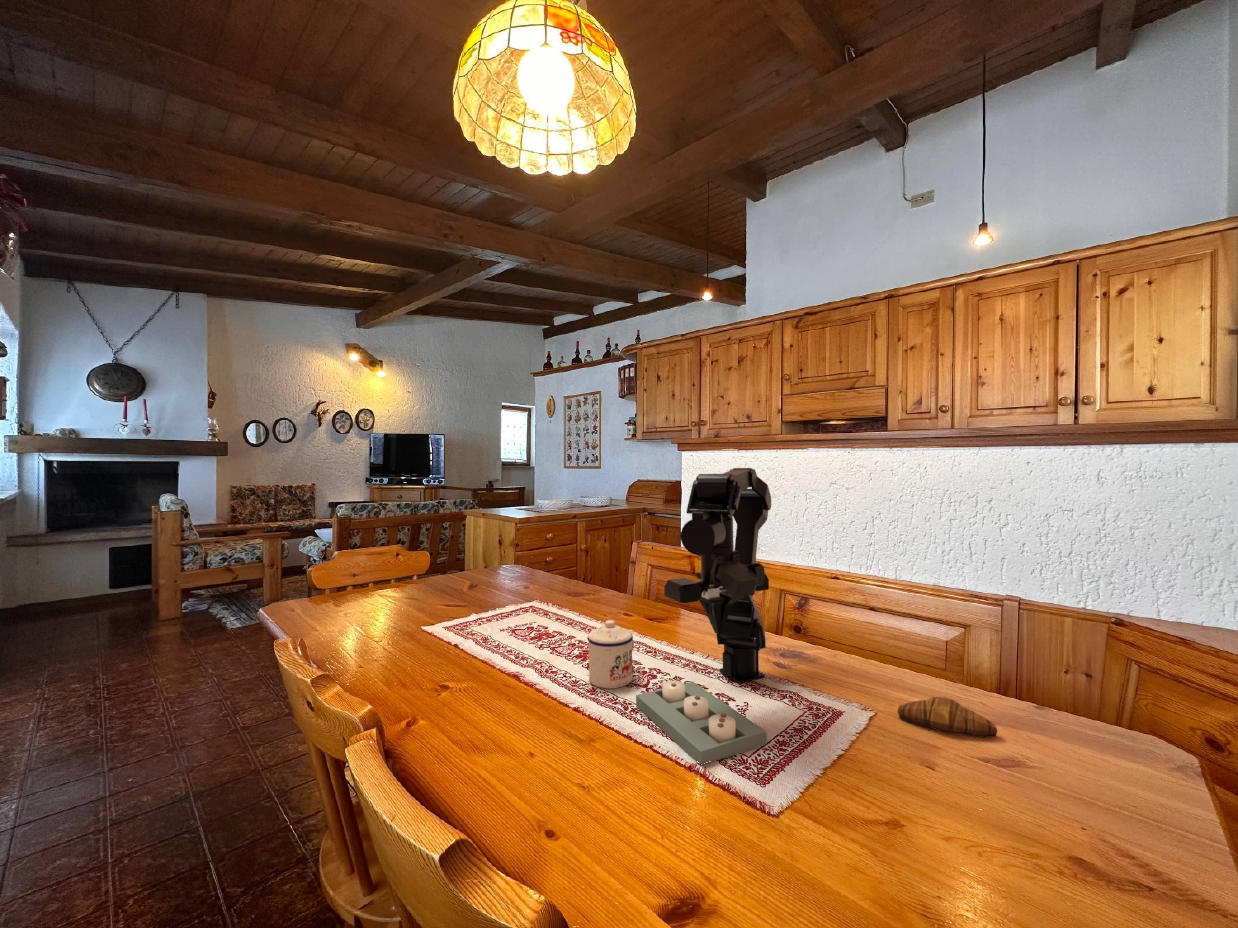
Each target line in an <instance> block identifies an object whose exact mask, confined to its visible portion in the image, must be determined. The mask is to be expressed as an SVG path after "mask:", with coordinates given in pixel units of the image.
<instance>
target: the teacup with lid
mask: <svg viewBox="0 0 1238 928" xmlns="http://www.w3.org/2000/svg"><path fill="white" fill-rule="evenodd" d="M586 638H587V639H586V640H587V641H588V672H589V673H588V674H589V676H588V678H589V679H588V680H589V681H590V683H591V684H592V685H594V686H595V687H599V688H601V689H617V688H621V687H624V686H627V685H628V684H630V683H631V682H632V680H633V651H634V643H635V642H634V636H633V634H632V632H631V630H629V629H627V628H624V627H621V626H619V625H617V624H616V622H615V620H611V619H610V620H609V619H607V620H606V621H605V622H604V625H602V626H600V627H597V628H595V629H592V630H591V631H590V632H589V633H588V635H587V637H586Z"/></svg>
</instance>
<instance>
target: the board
mask: <svg viewBox="0 0 1238 928" xmlns="http://www.w3.org/2000/svg"><path fill="white" fill-rule="evenodd" d="M684 684H685V698H687V697H689V696H700V697H704V698H706V699H707V700H708V712H709V718H710V717H711V716H713V715H718V714H722V713H724V714H726V715H727V716H730V717H732V718H733V719H734V720H735V726H736V739H733V740H729V741H726V742H723V743H720V744H718V743H717V742H716V741H715V740H713V739H712V738H711V737H710V736H709V718H705V719H702V720H698V721H694V722H691V721H690V720H689V719H687V718H686V717H685V716H684V700H682V701H678V702H674V703H670V704H669V703H667V702H666V701H665V700H664V699H663V692H662V688H660V689H656V690H652V691H648V692H643V693H640V694H639V693H638V694H636V695H635V706H636V707H637V709H639V711H640V712H642V714H644V715H645V716H646V717H647V718H648V719H649V720H650V721H652V722H653V724H655V725H656V726H657V727H658V728H659V729H660V730H661V731H663V733H664V734H666V735H667V736H668V737H669V738H670V739H671V740H672V741H673V742H674V743H675V744H677V745H678V746H679V747H680V749H682V750H683V751H684V752H685V753H686V754H688V755H689V757H690V758H692V759H693V760H694V761H695V762H696V761H698V762H699V763H700V764H704V763H706V762H709V761H714V762H717V761H720V760H722V758H723V759H726V758H729V757H731V756H732V757H733V756H735V755H737V754H741V753H744V752H747V751H750V750H754V749H757V748H759V747H763V746H766V745H767V730H765V729H764V728H762V727H761V726H759V725H758V724H756V723H755V722H753V721H752V720H750V719H749V718H747V717H746V716H744V715H743V714H742V713H740V712H739V711H738V710H735V708H732V707H731V706H729V705H728V704H727V703H726V702H724V701H722V700H721V699H719V698H718V697H716V696H715V695H714V694H712V693H711V692H709V691H707V689H704V688H703V687H702V686H700V685H699V684H697V683H696V682H694V681H689V682H686V683H684ZM765 744H766V745H765ZM762 745H763V746H762ZM699 763H698V764H699ZM700 764H699V765H700Z"/></svg>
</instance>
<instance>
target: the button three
mask: <svg viewBox="0 0 1238 928" xmlns="http://www.w3.org/2000/svg"><path fill="white" fill-rule="evenodd" d="M709 736H710V737H711V738H712V739H713V740H715V741H716V742H717V743H718V744H720V743H723V742H726V741H729V740H733V739H736V726H735V720H734V719H733V718H732V717H730V716H727V715H726V714H724V713H722V714H718V715H713V716H711V717H710V718H709Z"/></svg>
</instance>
